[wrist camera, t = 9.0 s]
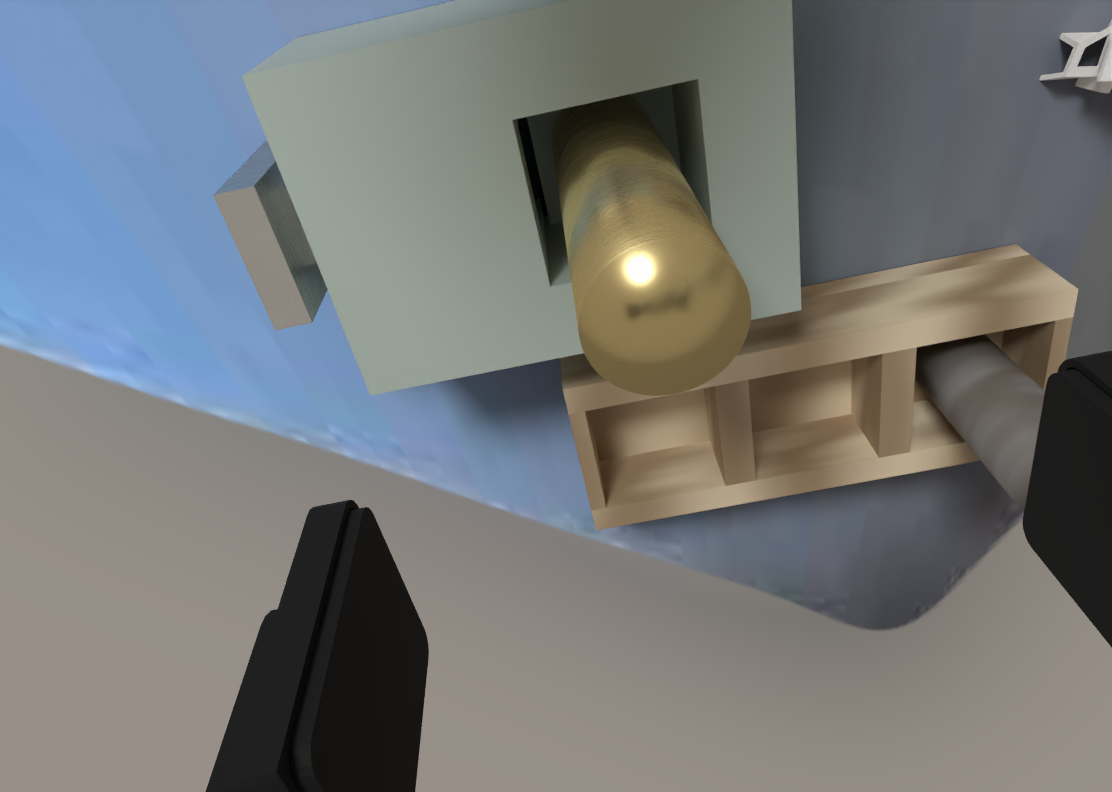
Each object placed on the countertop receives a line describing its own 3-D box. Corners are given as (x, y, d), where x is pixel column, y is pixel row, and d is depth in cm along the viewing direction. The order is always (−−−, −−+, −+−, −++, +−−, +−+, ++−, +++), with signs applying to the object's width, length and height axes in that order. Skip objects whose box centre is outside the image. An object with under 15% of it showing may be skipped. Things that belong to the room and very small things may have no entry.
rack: (1015, 243, 30) (1183, 364, 22) (995, 392, 34) (1133, 537, 26) (557, 335, 31) (571, 478, 24) (588, 468, 35) (608, 628, 28)
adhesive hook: (1100, 85, 27) (1162, 106, 25) (1027, 86, 27) (1082, 108, 25) (1134, -12, 26) (1205, -1, 23) (1057, -11, 26) (1119, 0, 23)
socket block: (732, -65, 24) (790, -52, 19) (752, 237, 29) (801, 310, 24) (296, 37, 25) (241, 76, 20) (394, 311, 30) (370, 395, 25)
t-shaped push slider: (500, 88, 26) (498, 132, 21) (529, 214, 28) (532, 277, 24) (264, 141, 26) (213, 195, 22) (312, 260, 29) (275, 330, 24)
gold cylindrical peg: (645, 77, 25) (745, 224, 14) (658, 179, 27) (756, 378, 16) (542, 100, 25) (563, 261, 14) (562, 200, 27) (594, 409, 16)
